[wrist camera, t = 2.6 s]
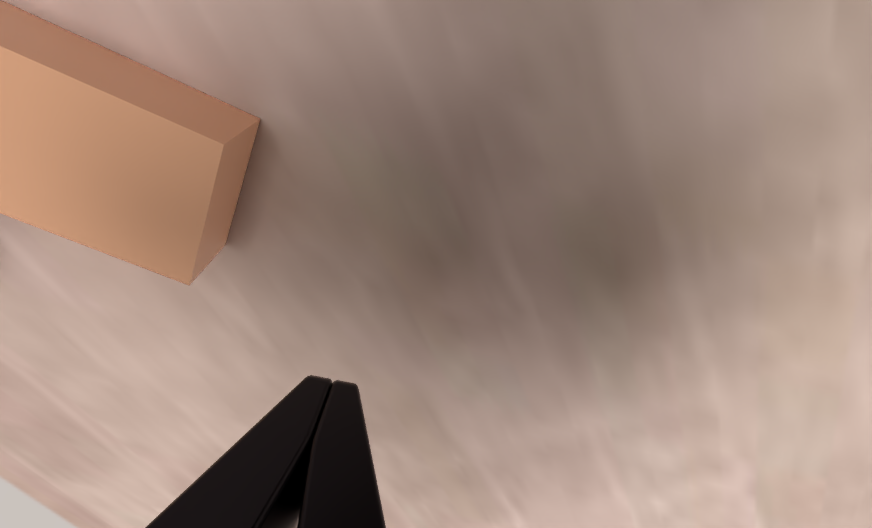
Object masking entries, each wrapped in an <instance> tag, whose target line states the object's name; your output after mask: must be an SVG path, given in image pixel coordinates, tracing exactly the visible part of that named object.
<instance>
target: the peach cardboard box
mask: <svg viewBox="0 0 872 528" xmlns="http://www.w3.org/2000/svg"><path fill="white" fill-rule="evenodd" d="M259 122H260V118H258V117H255V116H253V115H251V114H249V113H247V112H244V111H242V110H240V109H238V108H236V107H233V106H231V105H229V104H227V103H225V102H223V101H220V100H218V99H216V98H214V97H212V96H209V95H207V94H205V93H203V92H201V91H199V90H196V89H194V88H192V87H190V86H188V85H185V84H183V83H181V82H179V81H177V80H174V79H172V78H170V77H168V76H166V75H164V74H161V73H159V72H157V71H155V70H153V69H150V68H148V67H146V66H144V65H142V64H140V63H137V62H135V61H133V60H131V59H129V58H126V57H124V56H122V55H120V54H118V53H115V52H113V51H111V50H109V49H107V48H105V47H102V46H100V45H98V44H96V43H94V42H91V41H89V40H87V39H85V38H83V37H81V36H78V35H76V34H74V33H72V32H70V31H67V30H65V29H63V28H61V27H59V26H57V25H54V24H52V23H50V22H48V21H46V20H43V19H41V18H39V17H37V16H35V15H32V14H30V13H28V12H26V11H24V10H22V9H19V8H17V7H15V6H13V5H11V4H8V3H6V2H4V1H2V0H0V213H1V214H4V215H6V216H9V217H12V218H14V219H17V220H19V221H22V222H25V223H27V224H30V225H32V226H35V227H38V228H40V229H43V230H46V231H48V232H51V233H53V234H56V235H59V236H61V237H64V238H66V239H69V240H72V241H74V242H77V243H80V244H82V245H85V246H87V247H90V248H93V249H95V250H98V251H100V252H103V253H106V254H108V255H111V256H114V257H116V258H119V259H121V260H124V261H127V262H129V263H132V264H134V265H137V266H140V267H142V268H145V269H148V270H150V271H153V272H155V273H158V274H161V275H163V276H166V277H168V278H171V279H174V280H176V281H179V282H182V283H184V284H187V285H190V284H191V283H192V282H193V281H194V280H195V279H196V278H197V276H198V275H199V274H200V273H201V272H202V271H203V270H204V269H205V267H206V266H207V265H208V264H209V263H210V262H211V261H212V259H213V258H214V257H215V256H216V255H217V254H218V253H219V252H220V250H221V249H222V248H223V247H224V246H225V245H226V241H227V237H228V234H229V230H230V227H231V223H232V219H233V216H234V212H235V209H236V205H237V201H238V198H239V194H240V191H241V187H242V183H243V180H244V176H245V173H246V169H247V165H248V162H249V158H250V155H251V151H252V147H253V144H254V140H255V137H256V133H257V129H258V126H259Z"/></svg>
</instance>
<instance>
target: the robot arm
mask: <svg viewBox="0 0 872 528" xmlns="http://www.w3.org/2000/svg"><path fill="white" fill-rule="evenodd" d="M146 528H386V526H385V521H384V516H383V511H382V505H381V500H380V495H379V490H378V485H377V480H376V475H375V470H374V465H373V460H372V455H371V449H370V444H369V439H368V434H367V429H366V424H365V419H364V414H363V409H362V404H361V399H360V393H359V389H358V386H357V385H356V384H354V383H349V382H344V381H339V380H336V381H334V382H333V383H332V381H331V380H330V379H328V378H323V377H318V376H312V375H310V376H308V377H306V378H305V379H304V380H303V381H302V382H301V383H299V384H298V385H297V386H296V387H295V388H294V389H293V390H292V391H291V392H290V393H289V394H288V395H287V396H286V397H284V398H283V399H282V400H281V401H280V402H279V403H278V404H277V405H276V406H275V407H274V408H273V409H272V410H271V411H270V412H268V413H267V414H266V415H265V416H264V417H263V418H262V419H261V420H260V421H259V422H258V423H257V424H256V425H255V426H253V427H252V428H251V429H250V430H249V431H248V432H247V433H246V434H245V435H244V436H243V437H242V438H241V439H240V440H239V441H237V442H236V443H235V444H234V445H233V446H232V447H231V448H230V449H229V450H228V451H227V452H226V453H225V454H224V455H222V456H221V457H220V458H219V459H218V460H217V461H216V462H215V463H214V464H213V465H212V466H211V467H210V468H209V469H208V470H206V471H205V472H204V473H203V474H202V475H201V476H200V477H199V478H198V479H197V480H196V481H195V482H194V483H193V484H191V485H190V486H189V487H188V488H187V489H186V490H185V491H184V492H183V493H182V494H181V495H180V496H179V497H178V498H177V499H175V500H174V501H173V502H172V503H171V504H170V505H169V506H168V507H167V508H166V509H165V510H164V511H163V512H162V513H160V514H159V515H158V516H157V517H156V518H155V519H154V520H153V521H152V522H151V523H150V524H149V525H148V526H147V527H146Z"/></svg>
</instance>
